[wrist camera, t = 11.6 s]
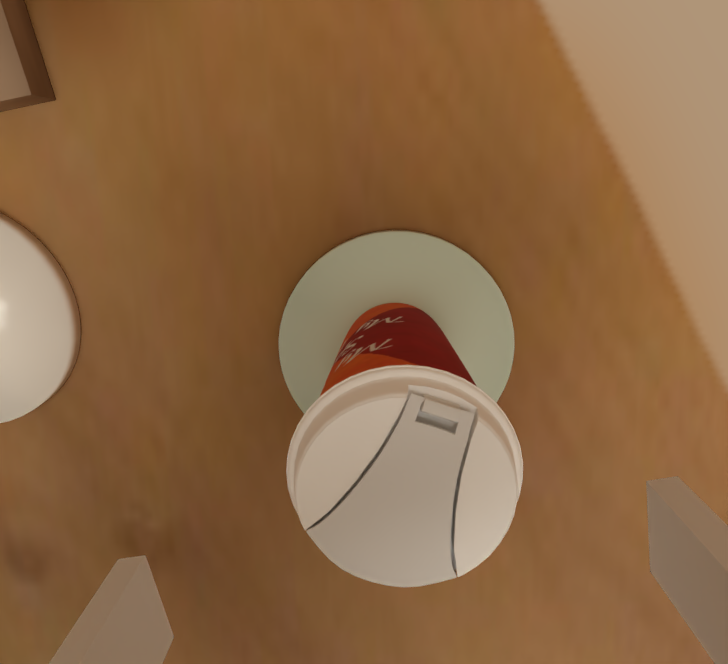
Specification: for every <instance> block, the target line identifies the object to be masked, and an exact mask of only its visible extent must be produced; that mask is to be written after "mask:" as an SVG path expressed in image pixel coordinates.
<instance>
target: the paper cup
mask: <svg viewBox="0 0 728 664" xmlns="http://www.w3.org/2000/svg"><path fill="white" fill-rule="evenodd" d="M286 475H287V483H288V490H289V493H290V497H291V500H292V503H293V506H294V508H295V510H296V512H297V514H298V516H299V519H300V522H301V524H302V526H303V528H304V530H307V531H306V532H307V534H308V535H309V536H310V538H311V539H312V540H313V541H314V543H315V544H316V545H317V546H318V548H319V549H320V550H321V551H322V552H323V553H324V554H325V555H326V556H327V558H328V559H329V560H331V561H332V562H333V563H334V564H336V565H337V566H338V567H340V568H341V569H342V570H344V571H346V572H348V573H350V574H352V575H354V576H356V577H359V578H362V579H364V580H367V581H370V582H374V583H378V584H383V585H387V586H395V587H419V586H424V585H429V584H434V583H438V582H442V581H446V580H450V579H453V578H456V572H457V576H458V577H459V576H462V575H464V574H466V573H467V572H469V571H470V570H472V569H473V568H475V567H477V566H478V565H479V564H480V563H481V562H483V561H484V560H485V559H486V558H487V557H488V556H490V554H491V553H492V552H493V551H494V550H495V549H496V547H497V546H498V545H499V544H500V542H501V541H502V539H503V537H504V536H505V534H506V532H507V531H508V529H509V527H510V524H511V522H512V519H513V516H514V514H515V509H516V504H517V501H518V498H519V495H520V490H521V485H522V481H523V460H522V453H521V447H520V444H519V441H518V438H517V436H516V433H515V430H514V428H513V426H512V425H511V423H510V421H509V419H508V418H507V416H506V414H505V413H504V412H503V411H502V409H501V408H500V407H499V406H498V405H497V403H496V402H495V401H494V400H493V399H492V398H491V397H490V396H488V395H487V394H486V393H485V392H484V391H483V390H481V389H480V388H479V387H477V386H476V384H475V382H474V381H473V379H472V377H471V376H470V374H469V373H468V371H467V369H466V368H465V366H464V364H463V363H462V361H461V360H460V358H459V356H458V355H457V353H456V352H455V350H454V348H453V347H452V345H451V344H450V342H449V341H448V339H447V337H446V336H445V334H444V333H443V331H442V330H441V328H440V327H439V326H438V324H437V323H436V322H435V321H434V320H433V319H432V318H431V317H430V316H429V315H428V314H427V313H425V312H424V311H422V310H421V309H419V308H417V307H414V306H412V305H408V304H404V303H386V304H382V305H378V306H375V307H373V308H371V309H369V310H368V311H366V312H365V313H363V314H362V315H361V316H360V317H359V318H358V319H357V320H356V321H355V322H354V323H353V325H352V326H351V328H350V329H349V331H348V333H347V335H346V337H345V339H344V341H343V343H342V345H341V347H340V350H339V352H338V354H337V357H336V359H335V361H334V364H333V366H332V368H331V371H330V373H329V375H328V378H327V380H326V382H325V385H324V387H323V390H322V392H321V394H320V397H319V398H318V399H317V400H316V401H315V402H314V403H313V404H312V405H311V406H310V407H309V409H308V410H307V411H306V413H305V414H304V416H303V417H302V419H301V420H300V422H299V423H298V425H297V428H296V430H295V432H294V434H293V437H292V439H291V442H290V447H289V451H288V455H287V468H286ZM455 569H456V571H455Z"/></svg>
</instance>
